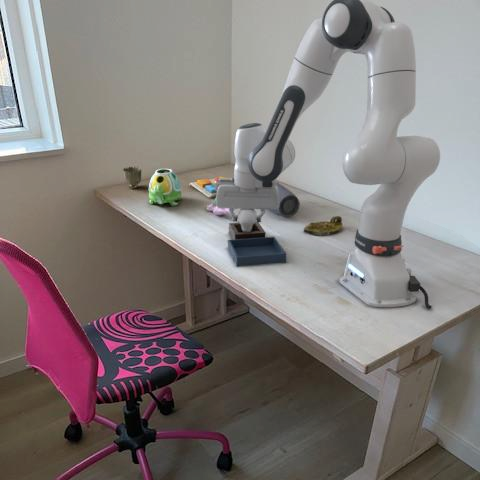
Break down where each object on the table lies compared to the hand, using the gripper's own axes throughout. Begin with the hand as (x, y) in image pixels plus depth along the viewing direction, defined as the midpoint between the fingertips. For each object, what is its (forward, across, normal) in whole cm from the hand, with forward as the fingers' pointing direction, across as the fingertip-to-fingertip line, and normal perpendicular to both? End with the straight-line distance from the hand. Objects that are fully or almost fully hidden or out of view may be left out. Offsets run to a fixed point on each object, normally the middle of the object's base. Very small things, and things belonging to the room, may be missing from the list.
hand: (247, 221), depth 163 cm
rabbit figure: (+6, -11, +22) cm, 25 cm away
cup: (+6, -48, +51) cm, 70 cm away
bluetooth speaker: (+6, +10, +28) cm, 31 cm away
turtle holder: (+6, -32, +33) cm, 47 cm away
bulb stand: (+6, 0, 0) cm, 6 cm away
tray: (+6, +3, -13) cm, 14 cm away
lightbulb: (+6, 0, 0) cm, 6 cm away
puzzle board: (+6, -13, +51) cm, 53 cm away
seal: (+6, +26, +10) cm, 29 cm away
